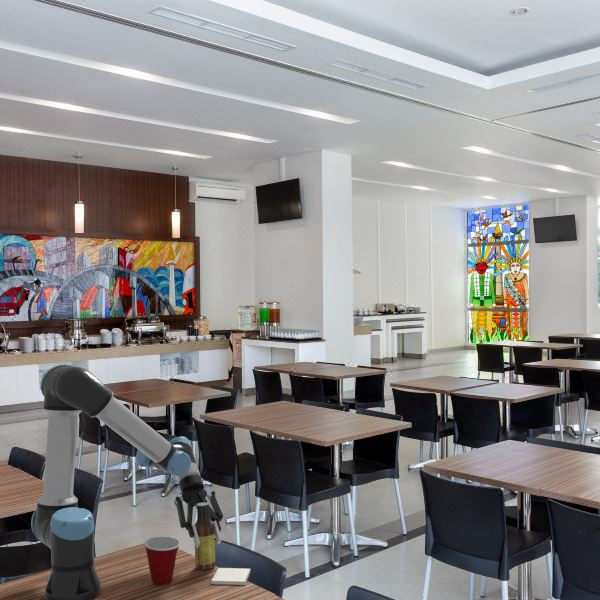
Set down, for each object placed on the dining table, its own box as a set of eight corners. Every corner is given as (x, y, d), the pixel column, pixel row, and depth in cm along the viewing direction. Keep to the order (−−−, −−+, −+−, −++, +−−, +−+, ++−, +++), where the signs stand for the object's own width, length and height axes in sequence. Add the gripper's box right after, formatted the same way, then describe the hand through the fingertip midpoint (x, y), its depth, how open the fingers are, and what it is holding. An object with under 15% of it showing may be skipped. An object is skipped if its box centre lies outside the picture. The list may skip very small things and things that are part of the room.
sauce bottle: (219, 565, 219) (218, 502, 219) (206, 572, 214) (205, 507, 214) (203, 562, 223) (202, 500, 223) (190, 568, 217) (189, 504, 217)
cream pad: (211, 584, 205) (211, 580, 205) (218, 571, 215) (218, 567, 215) (244, 584, 204) (244, 581, 204) (250, 571, 214) (250, 568, 214)
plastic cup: (172, 590, 201) (172, 548, 201) (138, 587, 203) (137, 546, 203) (186, 575, 211) (186, 536, 212) (153, 573, 214) (152, 534, 214)
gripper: (213, 482, 237) (234, 544, 222) (158, 490, 227) (176, 555, 213) (219, 469, 232) (240, 532, 218) (163, 477, 222) (182, 543, 208)
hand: (208, 543), depth 215 cm, fingers open, 6 cm apart
